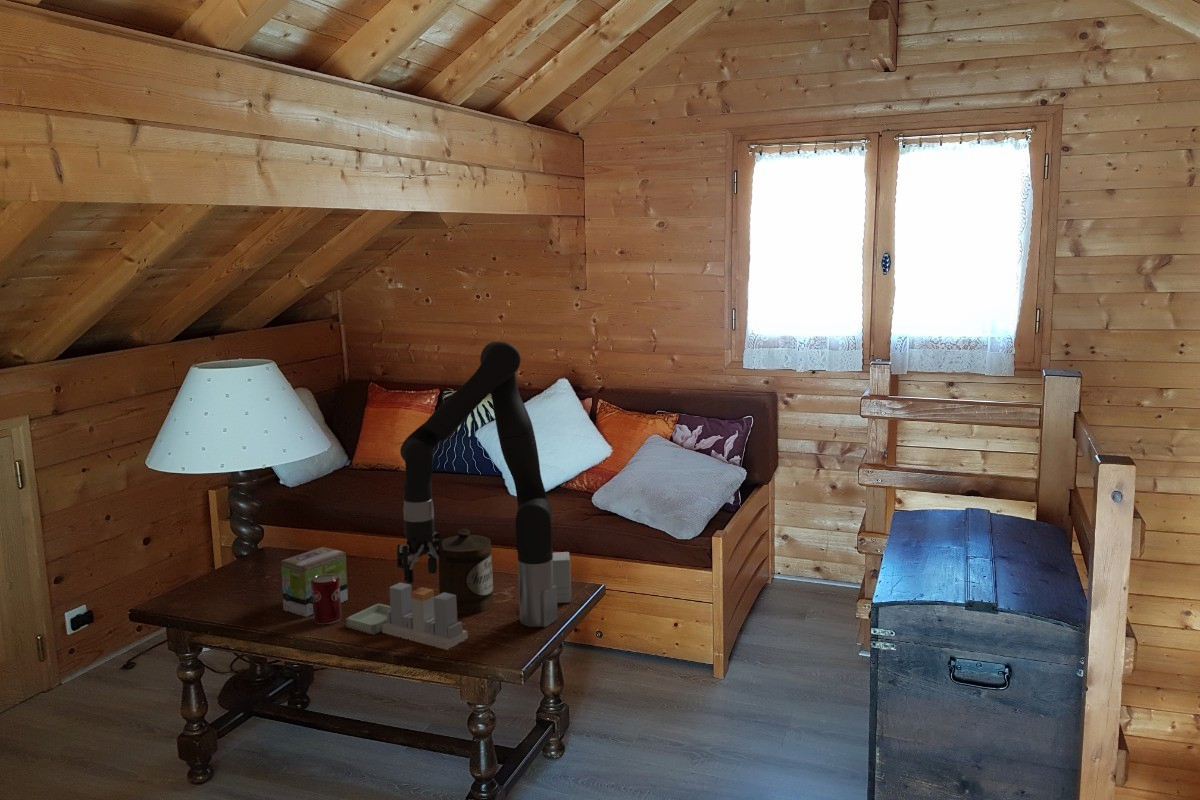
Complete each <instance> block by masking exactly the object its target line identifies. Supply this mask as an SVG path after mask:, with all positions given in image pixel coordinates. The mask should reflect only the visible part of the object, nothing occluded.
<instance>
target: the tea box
mask: <svg viewBox="0 0 1200 800" xmlns="http://www.w3.org/2000/svg"><path fill="white" fill-rule="evenodd" d="M280 562H281V563H280V565H281V566H280V567H281V582H282V583H281V584H282V603H283V607H282V608H283V611H285V612H288V611H289V613H291V612H292V614H294V613H295V615H298V616H301V615H302V617H305V618H307V617H309V616H311V615H313V603H312V589H311V580H312V579H313V577H315V576H318V575H321V574H335V575H337V576H338V577H339V583H340V598H341V604H342V603H344V601H345V602H347V601H348V600H349V596H348V594H349V592H348V575H347V573H348V572H347V556H346V552H345V551H342V550H339V549H333V548H330V547H329V548H328V547H325V546H322V547H319V548H315V549H312V550H309V551H306V552H303V553H301V554H297V555H295V556H291V557H288V558H284V559H282V560H281V561H280ZM346 600H347V601H346Z"/></svg>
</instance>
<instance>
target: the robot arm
mask: <svg viewBox="0 0 1200 800" xmlns="http://www.w3.org/2000/svg"><path fill="white" fill-rule="evenodd" d="M520 365H521V354H520V352H519V350H518V349H517V347H515V345H513V344H511V343H508V342H505V341H504V342H503V341H492V342H490V343H488V344H486V345H485V346H484V348H483V349H482V351H481V354H480V365H479V366H478V368H477V369H476V371H475V372H474V373H473V374H472V376H470V378H469V379H467V381H466V382H464V383H463V384H462V386H460V387H459V388H458V389H457V390H456V391H454V392H453V393H452V394H451V395H449V397H448V398H446V399H445V400H444V401H443V402H442V403H441V404H440V405H439V407H438V408H437V409H436V410H434V412H433V413H432V414H431V416H429V418H428V419H427V420H426V421H425V422H424V423H423V424H421V425H420V426H418V428H416V429H415V430H413V432H412V433H410V434H409V435H408V436H407V438H406V439H405V440H403V442H402V444H401V446H400V457H401V458H402V460H403V461H404V465H405V478H404V480H403V510H402V511H403V530H404V531H403V532H404V533H403V534H404V535H405V537H406V543H405V544H397V547H396V548H397V549H396V550H397V551H396V553H397V557H396V562H397V563H396V566H397V568H399V569H402V570H403V576H404V579H403V580H404V581H405V584H409V585H412V584H413V583H414V581H415V580H414V579H415V578H414V566H415V563H416V562H418V560H419V558H420V557H422V556H424V555H426V556H427V557H428V559H427V571H428V573H429V574H433V575H434V574H437V569H438V564H437V563H438V559H439V555H442V553H443V549H442V540H443V537H442V533H441V532H438V531H435V512H434V511H435V509H434V508H435V507H434V501H433V485H432V476H433V469H434V467H433V466H434V452H433V450H434V448H435V447H437V445H438V444H440V443H441V442H445V441H446V440H448V439H449V438H450V437H451V436H452V435H453V434H454V433H455V432H456V430H457V429H458V428H459V427H460V426H462V424H463V423H464V421H465V420H466V419H467V418H468V417H469V416H470V415H471V414H472V412H473V411H474V410H476V408H477V407H478V406H479V405H480V404H481V403H482V402H483V401H484V400H485V399H486V398H487V397H488V396H489V395H490V396H491V397H490V398H491V401H492V408H493V413H494V414H493V415H494V420H495V424H496V425H495V426H496V431H497V436H498V441H499V445H500V450H501V453H502V457H503V459H504V462H505V464H506V466H507V468H508V470H509V472H510V474H511V475H510V476H511V478H512V480H513V483H514V488H515V492H516V493H515V494H516V500H517V501H516V502H517V510H516V511H517V512H516V515H515V541H516V543H515V544H516V552H517V570H518V571H517V572H518V576H517V577H518V597H519V598H518V603H519V605H518V607H519V623H520V624H522V625H523V626H526V627H529V628H530V627H532V628H539V627H541V628H547V627H548V626H549V625H551V624H553V623H555V622H556V621H558V619H559V617H558V616H559V615H558V603H557V586H555V585H553V553H554V552H553V551H554V550H553V541H552V539H553V537H552V519H553V510H552V507H551V504H550V500H549V498H548V495H547V492H546V488H545V485H544V482H543V479H542V474H541V467H540V459H539V452H538V445H537V439H536V436H535V431H534V427H533V423H532V420H531V418H530V414H529V412H528V410H527V408H526V405H525V404H524V401H523V399H522V397H521V394H520V391H519V387H518V382H517V376H516V375H517V374H516V372H517V371H518V370H519V368H520Z"/></svg>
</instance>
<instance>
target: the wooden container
mask: <svg viewBox="0 0 1200 800" xmlns="http://www.w3.org/2000/svg"><path fill="white" fill-rule="evenodd" d="M442 549H443V553H442V555H439V556H438V587H439V588H438V590H439V594H442V593H444V592H445V593H449V594H454V595H456V602H457V615H472V614H477V613H481V612H483V611H486V610H488V609H490V608H492V606H493V605H494V582H493V581H494V580H493V579H494V577H493V576H494V575H493V561H492V560H493V559H492V541H491V539H490V538H489V537H486V536H484V535H479V534H471V530H470V529H468V528H460V529H459V530H458V531H457V535H454V536H450V537H445V538H442Z"/></svg>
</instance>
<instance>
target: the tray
mask: <svg viewBox="0 0 1200 800" xmlns="http://www.w3.org/2000/svg"><path fill="white" fill-rule="evenodd" d="M390 610H391V607H390V605H387V604H382V603H376V604H373V605H371V606H370V607H367V608H365V609H362V610H361V611H359V612H357V613H354V614H352V615H350V616H348V617H346V618H345V627H346V628H347V627H348V628H349V629H351V628H352V630H355V631H358V630H359V632H362V631H363V633H366V634H369V635H376V634H379V633H380V632H382V625H384V624H386V623H387V615H386V612H388V611H390Z"/></svg>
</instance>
